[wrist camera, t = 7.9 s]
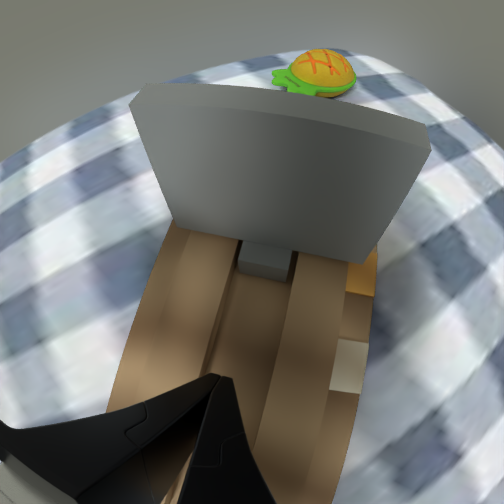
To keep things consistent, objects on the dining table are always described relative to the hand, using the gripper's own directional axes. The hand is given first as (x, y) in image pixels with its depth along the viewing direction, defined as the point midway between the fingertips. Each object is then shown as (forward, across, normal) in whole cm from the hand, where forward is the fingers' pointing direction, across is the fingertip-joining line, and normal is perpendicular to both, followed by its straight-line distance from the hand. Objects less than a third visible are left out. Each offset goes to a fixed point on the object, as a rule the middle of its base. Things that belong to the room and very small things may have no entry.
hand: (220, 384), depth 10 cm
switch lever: (+10, 0, +2) cm, 10 cm away
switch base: (+7, 0, -4) cm, 8 cm away
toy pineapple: (+26, +1, +15) cm, 30 cm away
